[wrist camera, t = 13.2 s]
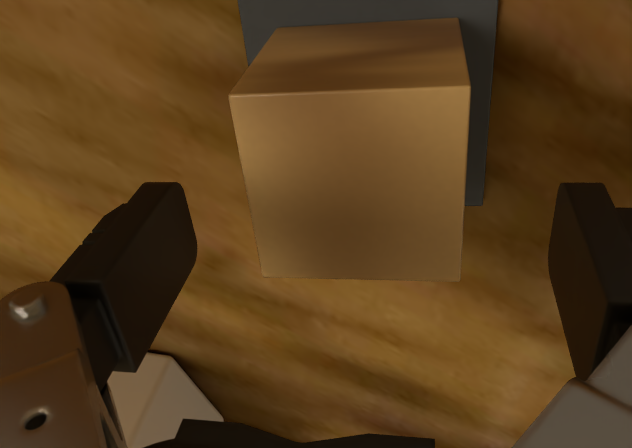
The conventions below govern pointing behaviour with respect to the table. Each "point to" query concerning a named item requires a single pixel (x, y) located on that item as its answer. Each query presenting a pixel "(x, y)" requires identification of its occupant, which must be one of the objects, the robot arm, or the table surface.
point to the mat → (399, 5)
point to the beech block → (357, 150)
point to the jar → (157, 401)
